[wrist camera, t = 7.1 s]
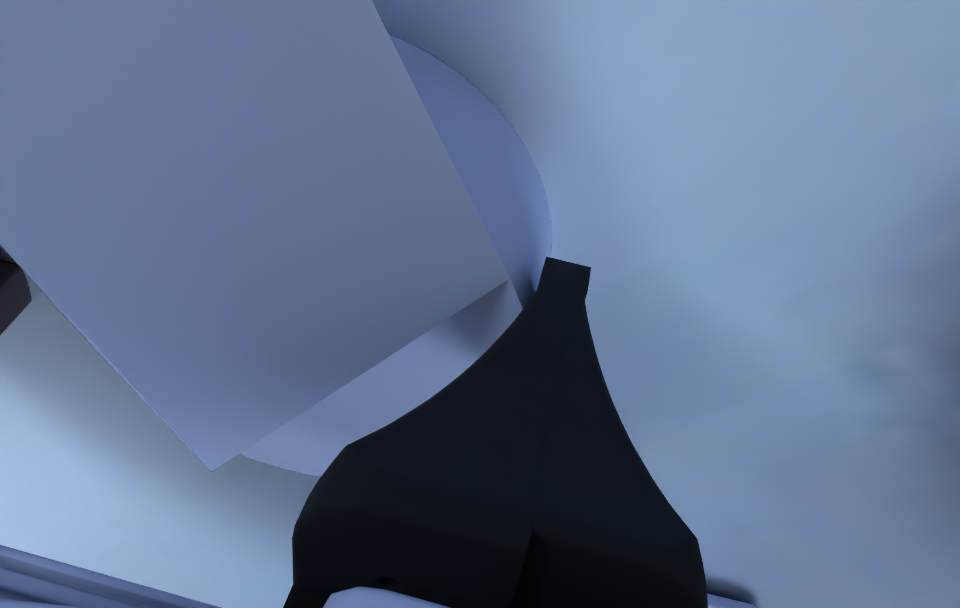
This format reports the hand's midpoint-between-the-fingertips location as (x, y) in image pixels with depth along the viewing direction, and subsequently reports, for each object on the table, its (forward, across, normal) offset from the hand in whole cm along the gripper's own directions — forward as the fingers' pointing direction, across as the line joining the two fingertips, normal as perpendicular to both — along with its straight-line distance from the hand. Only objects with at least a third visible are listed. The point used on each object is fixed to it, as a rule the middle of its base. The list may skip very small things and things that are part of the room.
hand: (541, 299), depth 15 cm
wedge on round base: (+2, +6, -1) cm, 6 cm away
